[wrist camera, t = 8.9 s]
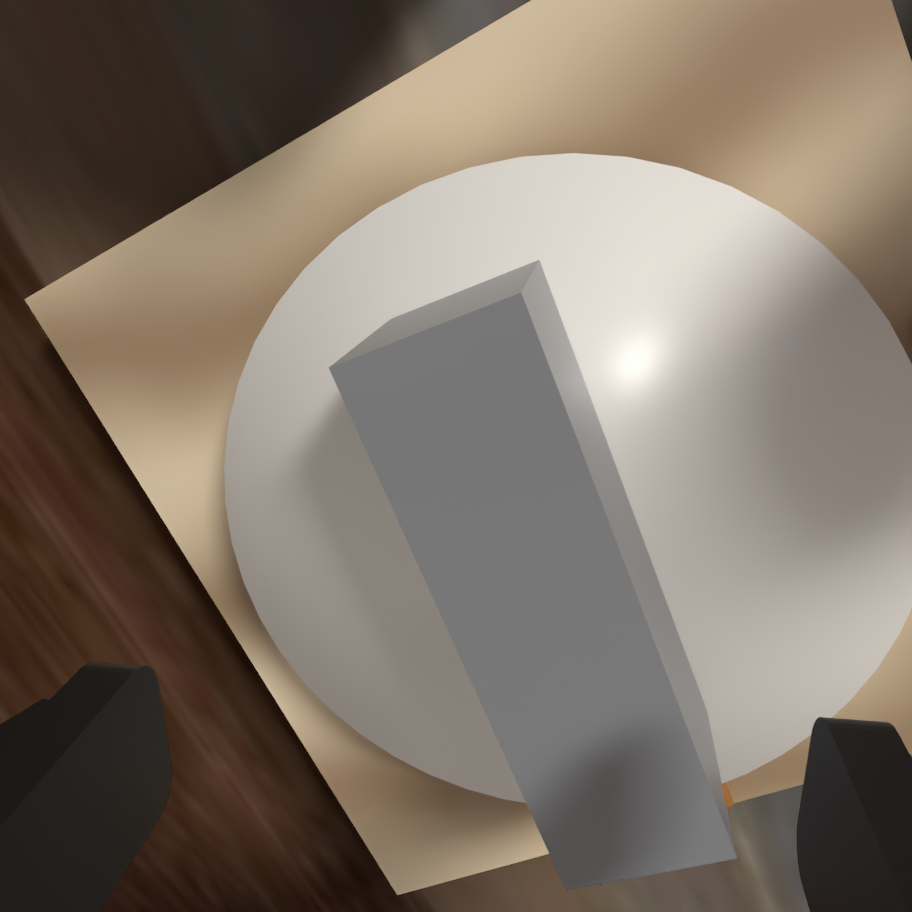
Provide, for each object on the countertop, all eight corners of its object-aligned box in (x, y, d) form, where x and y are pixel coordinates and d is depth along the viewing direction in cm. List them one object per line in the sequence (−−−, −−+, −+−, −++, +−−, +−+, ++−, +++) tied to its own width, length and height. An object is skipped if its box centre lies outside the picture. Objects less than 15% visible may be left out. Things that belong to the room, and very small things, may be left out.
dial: (801, 22, 15) (913, -53, 9) (978, 684, 18) (1130, 891, 13) (144, 310, 18) (-33, 370, 13) (398, 814, 22) (338, 1016, 17)
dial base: (75, 286, 21) (16, 301, 19) (804, -137, 16) (837, -185, 13) (412, 840, 25) (395, 904, 23) (1072, 646, 20) (1131, 705, 18)
